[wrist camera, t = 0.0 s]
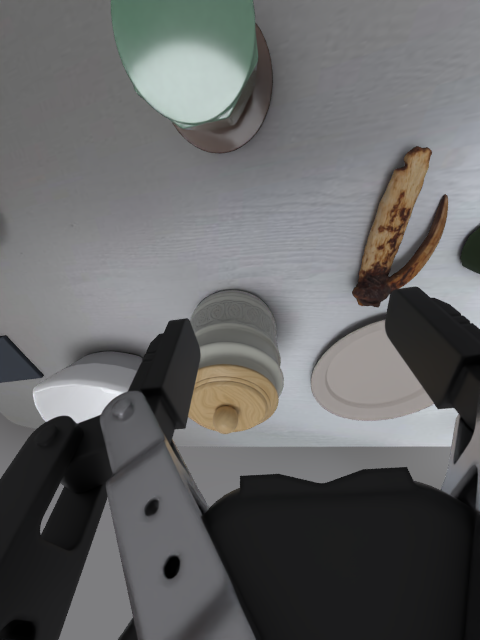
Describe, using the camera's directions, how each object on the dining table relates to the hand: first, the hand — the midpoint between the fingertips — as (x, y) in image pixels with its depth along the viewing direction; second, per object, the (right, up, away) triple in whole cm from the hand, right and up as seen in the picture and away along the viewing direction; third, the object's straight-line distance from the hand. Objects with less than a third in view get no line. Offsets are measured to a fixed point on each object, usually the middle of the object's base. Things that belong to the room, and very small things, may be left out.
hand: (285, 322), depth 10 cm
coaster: (-45, -7, +35) cm, 57 cm away
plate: (+23, -8, +34) cm, 42 cm away
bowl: (-24, -10, +36) cm, 45 cm away
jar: (-3, 0, +29) cm, 29 cm away
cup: (-4, +18, +8) cm, 20 cm away
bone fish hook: (+17, +10, +20) cm, 28 cm away
